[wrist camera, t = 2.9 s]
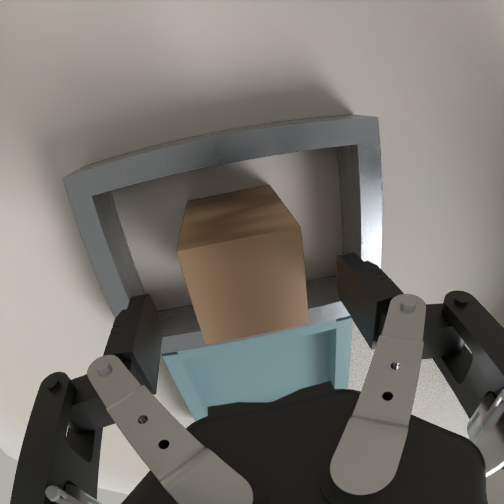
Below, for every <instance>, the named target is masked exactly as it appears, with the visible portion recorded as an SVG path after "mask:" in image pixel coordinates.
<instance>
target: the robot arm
mask: <svg viewBox="0 0 504 504" xmlns="http://www.w3.org/2000/svg"><path fill="white" fill-rule="evenodd" d="M337 291H338V295H339V298H340V300H341V302H342V303H343V305H344V306H345V308H346V310H347V311H348V313H349V314H350V316H351V318H352V319H353V321H354V322H355V324H356V326H357V327H358V329H359V330H360V332H361V334H362V335H363V337H364V338H365V340H366V342H367V343H368V345H369V347H370V348H371V350H372V349H375V352H374V355H373V358H372V361H371V364H370V367H369V370H368V373H367V376H366V379H365V382H364V385H363V388H362V390H361V392H360V391H356V390H351V389H334V387H333V384H332V382H331V381H328V382H324V383H321V384H317V385H313V386H309V387H305V388H301V389H299V390H297V391H295V392H293V393H291V394H289V395H286V396H284V397H282V398H280V399H278V400H275V401H273V402H235V403H229V404H223V405H216V406H210V407H207V409H208V416H206V417H203V418H201V419H199V420H197V421H196V422H194V423H192V424H191V425H190V426H188V427H187V428H186V429H185V428H184V427H183V426H182V425H181V424H180V423H179V422H178V421H177V420H176V419H175V418H174V417H173V416H172V415H171V414H170V413H169V411H168V410H167V409H166V408H165V407H164V406H163V405H162V404H161V403H160V402H159V401H158V400H157V399H156V398H155V397H154V395H153V394H156V389H157V380H158V370H159V362H160V353H161V345H162V338H163V331H162V326H161V322H160V320H159V317H158V315H157V312H156V310H155V307H154V305H153V302H152V299H151V297H150V295H149V294H143V295H137V296H132V297H131V298H130V301H129V304H128V307H127V309H124V310H122V311H121V312H120V313H119V314H118V316H117V317H116V318H115V321H114V324H113V328H112V330H111V335H110V336H109V339H108V342H107V345H106V348H105V351H104V355H103V356H102V357H99V358H97V359H96V360H95V361H93V362H92V363H91V365H90V366H89V368H88V371H87V374H86V375H84V376H81V377H78V378H75V379H73V380H70V379H69V377H68V376H67V375H66V374H65V373H63V372H55V373H53V374H51V375H49V376H47V377H46V378H45V379H44V380H43V382H42V383H41V385H40V388H39V391H38V394H37V397H36V400H35V403H34V406H33V409H32V412H31V416H30V419H29V422H28V426H27V429H26V433H25V437H24V440H23V444H22V448H21V452H20V456H19V461H18V465H17V470H16V474H15V480H14V485H13V490H12V497H11V502H10V504H101V503H100V502H99V501H98V500H97V484H98V470H99V459H100V449H101V439H102V431H103V427H105V426H108V425H111V424H114V423H116V425H117V426H118V428H119V429H120V430H121V432H122V433H123V435H124V436H125V438H126V439H127V440H128V442H129V443H130V444H131V446H132V447H133V448H134V450H135V451H136V452H137V454H138V455H139V456H140V458H141V459H142V460H143V461H144V463H145V464H146V465H147V466H148V468H149V469H150V471H149V472H148V473H147V475H146V476H145V477H144V478H143V479H142V480H141V482H140V483H139V484H138V485H137V486H136V487H135V489H134V490H133V491H132V492H131V493H130V494H129V495H128V497H127V498H126V499H125V500H124V501H123V502H122V503H121V504H488V501H487V495H486V477H488V476H489V475H491V474H492V473H494V472H496V471H497V470H499V469H504V329H503V327H502V326H501V325H500V324H499V323H498V322H497V321H496V320H495V319H494V318H493V316H492V315H491V314H490V313H489V312H488V311H487V310H486V309H485V308H484V307H483V306H482V305H481V304H480V303H479V302H478V301H477V300H476V299H475V298H474V297H473V296H472V295H471V294H469V293H467V292H464V291H452V292H449V293H448V294H447V295H446V296H445V299H444V303H443V304H428V305H426V304H425V302H424V301H423V300H422V299H421V298H420V297H418V296H415V295H411V294H404V293H403V292H402V291H401V290H400V289H399V288H398V287H397V286H396V285H395V283H394V282H393V281H392V280H391V279H390V278H388V276H387V275H386V274H385V273H384V272H383V271H382V270H381V269H380V267H379V266H378V265H376V264H374V263H372V262H370V261H363V260H362V259H361V258H360V257H359V256H358V255H357V254H356V253H355V252H352V253H347V254H343V255H338V256H337ZM465 343H466V345H467V346H468V347H469V348H470V350H471V352H472V354H471V353H470V352H469V350H468V349H467V348H466V347H465V345H464V344H465ZM430 358H433V360H434V361H435V363H436V365H437V366H438V368H439V369H440V371H441V372H442V374H443V376H444V377H445V379H446V380H447V382H448V384H449V385H450V387H451V388H452V390H453V392H454V393H455V395H456V397H457V398H458V400H459V402H460V403H461V405H462V407H463V408H464V410H465V412H466V413H467V415H468V417H469V419H470V420H469V422H468V425H467V432H468V435H469V439H467V438H465V437H463V436H461V435H458V434H456V433H453V432H451V431H448V430H446V429H444V428H441V427H439V426H437V425H434V424H432V423H430V422H427V421H425V420H423V419H420V418H418V417H416V416H414V415H411V412H412V407H413V403H414V398H415V393H416V388H417V383H418V377H419V371H420V365H421V359H430ZM68 426H69V427H68ZM67 427H68V432H67ZM66 432H67V437H66Z"/></svg>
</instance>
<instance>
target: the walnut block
mask: <svg viewBox="0 0 504 504" xmlns="http://www.w3.org/2000/svg"><path fill="white" fill-rule="evenodd" d="M177 255H178V258H179V262H180V265H181V269H182V272H183V275H184V279H185V282H186V285H187V288H188V292H189V295H190V298H191V301H192V304H193V307H194V310H195V314H196V317H197V320H198V323H199V326H200V329H201V332H202V335H203V338H204V341H205V343H206V344H211V343H216V342H222V341H227V340H233V339H238V338H243V337H248V336H253V335H258V334H263V333H268V332H273V331H277V330H282V329H286V328H291V327H295V326H300V325H304V324H308V323H309V319H308V304H307V291H306V278H305V266H304V255H303V244H302V234H301V226H300V225H299V224H298V222H297V221H296V220H295V218H294V217H293V215H292V214H291V213H290V211H289V210H288V209H287V207H286V206H285V205H284V203H283V202H282V201H281V199H280V198H279V197H278V195H277V194H276V193H275V191H274V190H273V189H272V187H271V186H270V185H267V186H261V187H255V188H250V189H245V190H239V191H234V192H229V193H224V194H219V195H214V196H209V197H204V198H199V199H195V200H190V201H187V205H186V210H185V214H184V219H183V223H182V228H181V232H180V237H179V242H178V246H177Z"/></svg>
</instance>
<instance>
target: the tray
mask: <svg viewBox="0 0 504 504" xmlns="http://www.w3.org/2000/svg"><path fill="white" fill-rule="evenodd" d="M351 337H352V318H351V316H347V317H343V318H339V319H335V320H331V321H327V322H323V323H319V324H315V325H311V326H307V327H302V328H298V329H294V330H289V331H285V332H280V333H276V334H271V335H266V336H262V337H257V338H252V339H247V340H242V341H236V342H231V343H226V344H220V345H214V346H209V347H203V348H197V349H191V350H184V351H178V352H171V353H164V354H162V358H163V360H164V362H165V364H166V366H167V368H168V370H169V372H170V374H171V376H172V378H173V380H174V382H175V384H176V386H177V388H178V390H179V392H180V394H181V396H182V398H183V399H184V401H185V403H186V405H187V407H188V409H189V411H190V412H191V414H192V416H193V418H194V420H195V421H197V420H199V419H201V418H203V417H206V416H208V409H207V407H210V406H216V405H223V404H229V403H235V402H273V401H275V400H278V399H280V398H282V397H284V396H286V395H289V394H291V393H293V392H295V391H297V390H299V389H301V388H305V387H309V386H313V385H317V384H321V383H324V382H328V381H331V382H332V384H333V387H334V389H347V388H348V378H349V366H350V352H351Z"/></svg>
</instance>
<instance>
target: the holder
mask: <svg viewBox="0 0 504 504" xmlns="http://www.w3.org/2000/svg"><path fill="white" fill-rule="evenodd" d="M329 147H337V151H338V162H339V174H340V188H341V204H342V224H343V254H347V253H352V252H355V253H356V254H357V255H358V256H359V257H360V258H361V259H362V260H363V261H370V262H372V263H374V264H376V265H378V266H379V267H380V269H381V249H382V172H381V151H380V136H379V123H378V117H372V116H363V115H341V116H329V117H318V118H308V119H299V120H291V121H283V122H276V123H269V124H262V125H255V126H249V127H243V128H237V129H231V130H226V131H221V132H215V133H210V134H205V135H200V136H196V137H191V138H187V139H182V140H178V141H173V142H169V143H165V144H161V145H157V146H153V147H149V148H145V149H142V150H138V151H134V152H131V153H127V154H124V155H120V156H117V157H113V158H110V159H107V160H103V161H100V162H97V163H94V164H91V165H88V166H85V167H82V168H80V169H78V170H76V171H75V172H73V173H71V174H69V175H67V176H66V177H64V178H63V181H64V185H65V188H66V192H67V195H68V198H69V201H70V205H71V208H72V211H73V214H74V217H75V220H76V223H77V226H78V229H79V232H80V234H81V237H82V240H83V243H84V245H85V248H86V251H87V253H88V256H89V258H90V261H91V264H92V266H93V269H94V271H95V274H96V276H97V278H98V281H99V283H100V285H101V288H102V290H103V292H104V295H105V297H106V299H107V301H108V304H109V306H110V308H111V310H112V312H113V315H114V317H115V318H116V317H117V316H118V314H119V313H120V312H121V311H122V310H124V309H127V307H128V304H129V301H130V298H131V297H132V296H137V295H143V294H145V292H144V290H143V287H142V285H141V282H140V279H139V276H138V274H137V271H136V268H135V265H134V263H133V260H132V257H131V254H130V251H129V248H128V245H127V242H126V239H125V236H124V233H123V230H122V227H121V224H120V220H119V217H118V214H117V211H116V207H115V204H114V200H113V197H112V194H111V190H115V189H119V188H122V187H126V186H130V185H134V184H137V183H141V182H145V181H149V180H153V179H157V178H161V177H166V176H170V175H174V174H179V173H183V172H188V171H192V170H197V169H202V168H206V167H211V166H216V165H221V164H226V163H232V162H237V161H243V160H248V159H254V158H260V157H266V156H272V155H278V154H285V153H292V152H299V151H306V150H313V149H321V148H329ZM306 291H307V304H308V319H309V323H308V324H304V325H300V326H295V327H291V328H286V329H282V330H277V331H273V332H268V333H263V334H258V335H253V336H248V337H243V338H238V339H233V340H227V341H222V342H216V343H211V344H206V343H205V341H204V338H203V335H202V332H201V329H200V326H199V323H198V320H197V317H196V314H195V310H194V307H193V305H190V306H185V307H179V308H174V309H168V310H162V311H156V312H157V315H158V317H159V320H160V322H161V326H162V331H163V338H162V345H161V353H160V354H164V353H171V352H178V351H184V350H191V349H197V348H203V347H209V346H214V345H220V344H226V343H231V342H236V341H242V340H247V339H252V338H257V337H262V336H266V335H271V334H276V333H280V332H285V331H289V330H294V329H298V328H302V327H307V326H311V325H315V324H319V323H323V322H327V321H331V320H335V319H339V318H343V317H347V316H350V314H349V313H348V311H347V310H346V308H345V306H344V305H343V303H342V302H341V300H340V298H339V295H338V291H337V275H336V276H331V277H327V278H323V279H318V280H314V281H309V282H306Z"/></svg>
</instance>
